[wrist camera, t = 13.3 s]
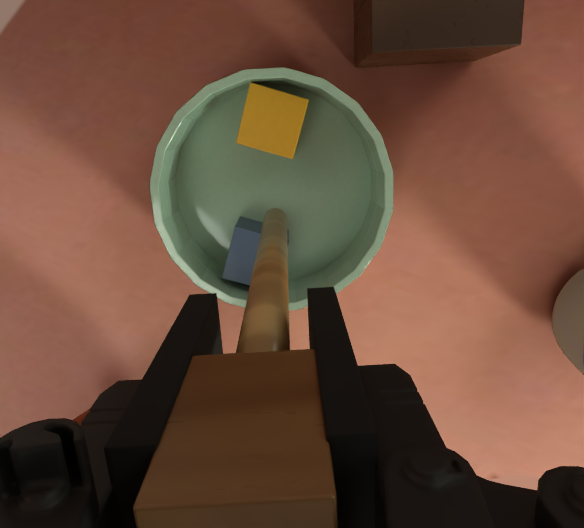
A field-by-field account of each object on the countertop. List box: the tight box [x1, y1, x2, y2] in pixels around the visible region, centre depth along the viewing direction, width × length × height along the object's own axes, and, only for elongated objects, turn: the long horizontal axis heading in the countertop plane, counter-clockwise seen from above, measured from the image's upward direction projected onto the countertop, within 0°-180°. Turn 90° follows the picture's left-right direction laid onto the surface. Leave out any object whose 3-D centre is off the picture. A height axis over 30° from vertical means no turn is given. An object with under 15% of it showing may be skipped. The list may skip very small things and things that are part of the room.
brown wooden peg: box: [133, 208, 338, 528], centre depth 18 cm, size 3×3×24 cm
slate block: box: [222, 216, 289, 285], centre depth 36 cm, size 4×4×4 cm
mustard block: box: [236, 83, 309, 159], centre depth 33 cm, size 4×4×4 cm
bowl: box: [149, 67, 393, 310], centre depth 34 cm, size 16×16×6 cm
